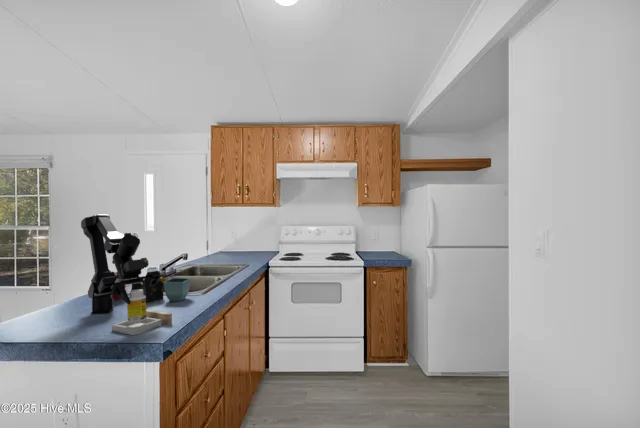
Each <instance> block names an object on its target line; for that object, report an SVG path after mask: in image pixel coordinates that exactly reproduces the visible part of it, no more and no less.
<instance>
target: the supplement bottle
mask: <svg viewBox="0 0 640 428" xmlns="http://www.w3.org/2000/svg"><path fill="white" fill-rule="evenodd" d="M128 297H129V300H130V304H127V303H126V304H127V320H128V322H131V323H136V322H141V321H144V320H145V319H146V310H147V303H146V296H145V295H143V289H136V290H132V291H131V290H130V291H129V296H128Z"/></svg>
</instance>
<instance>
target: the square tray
mask: <svg viewBox="0 0 640 428" xmlns="http://www.w3.org/2000/svg"><path fill="white" fill-rule="evenodd" d="M161 326H162V324H161V319H155V318H149V317H146V319H145V320H144V321H141V322H136V323H131V322H128V319H126V320H124V321H120V322H117V323H115V324H111V332H114V333H120V334H125V335H130V336H136V335H138V334H142V333H145V332H148V331H150V330H153V329H155V328H157V327H161Z"/></svg>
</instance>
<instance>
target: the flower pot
mask: <svg viewBox="0 0 640 428" xmlns="http://www.w3.org/2000/svg"><path fill="white" fill-rule="evenodd" d="M191 280H192V278H189V277H188V278H187V277H186V278H179V277H178V278H177V277H174V278H170V279H168V280H164V285H163V290H164V293H165V296H166V297H167V300H168V301H170V302H181V301H183V300H184V299H186V297H187V296H188V294H189V292H190V287H191Z"/></svg>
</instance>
